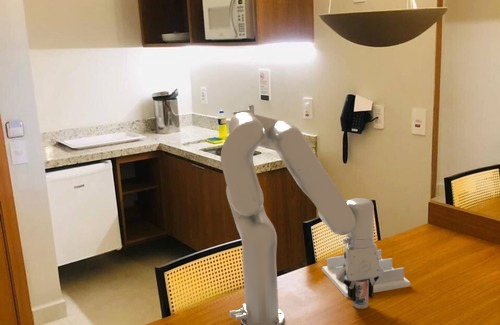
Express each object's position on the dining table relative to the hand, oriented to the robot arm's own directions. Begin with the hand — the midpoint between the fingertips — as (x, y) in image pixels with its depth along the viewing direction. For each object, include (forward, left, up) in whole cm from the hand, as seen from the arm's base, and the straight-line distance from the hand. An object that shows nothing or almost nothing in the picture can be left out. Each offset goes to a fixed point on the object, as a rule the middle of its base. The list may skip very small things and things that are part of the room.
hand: (360, 296), depth 156 cm
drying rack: (+9, +16, -3) cm, 19 cm away
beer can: (0, 0, -3) cm, 3 cm away
